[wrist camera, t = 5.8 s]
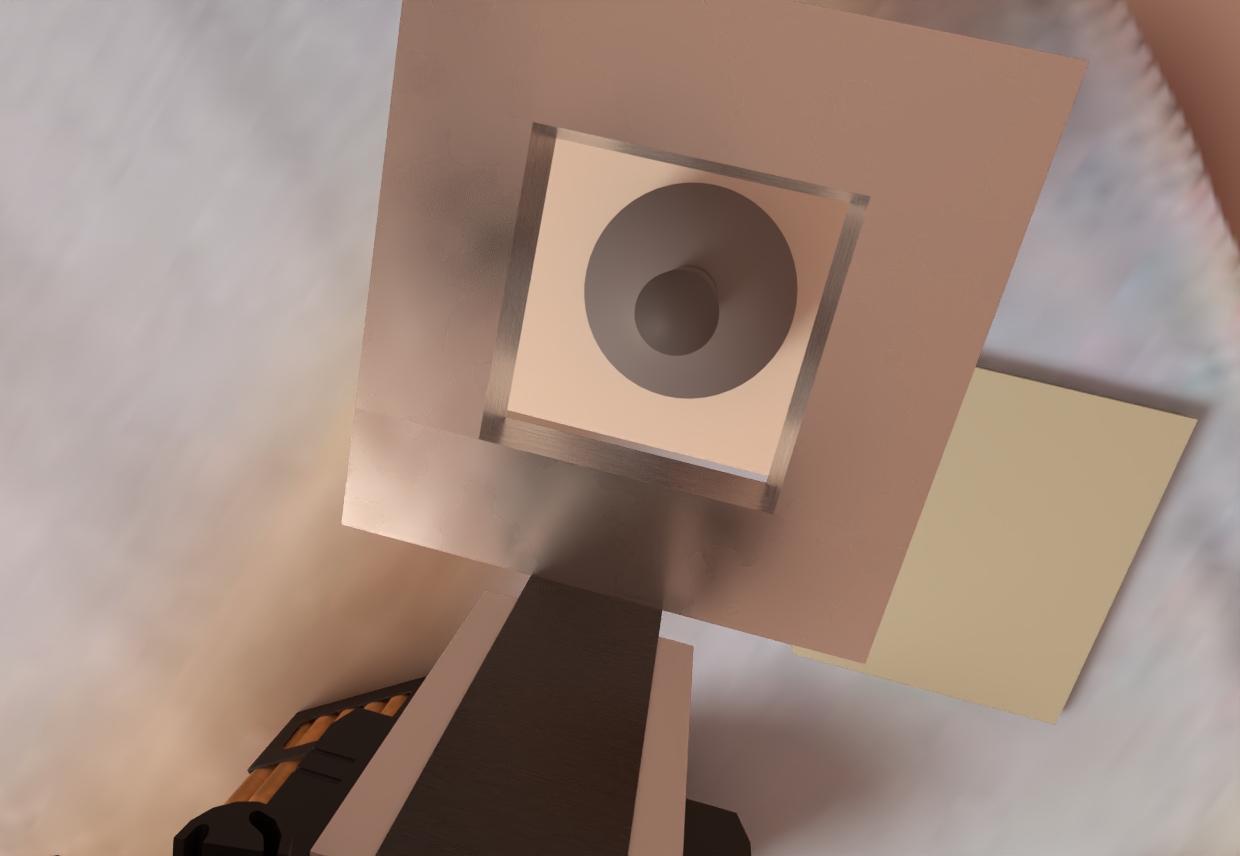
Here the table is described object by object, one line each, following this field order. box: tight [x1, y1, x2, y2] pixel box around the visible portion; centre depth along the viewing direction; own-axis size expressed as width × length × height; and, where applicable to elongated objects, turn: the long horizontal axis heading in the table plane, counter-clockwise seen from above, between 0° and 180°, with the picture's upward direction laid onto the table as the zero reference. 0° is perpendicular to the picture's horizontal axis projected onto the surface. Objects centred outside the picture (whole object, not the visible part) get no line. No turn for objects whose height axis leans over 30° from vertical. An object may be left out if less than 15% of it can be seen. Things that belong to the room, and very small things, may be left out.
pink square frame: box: [342, 0, 1089, 856], centre depth 11 cm, size 15×12×11 cm
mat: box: [792, 367, 1198, 725], centre depth 35 cm, size 17×14×1 cm
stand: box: [507, 138, 850, 475], centre depth 27 cm, size 16×16×15 cm
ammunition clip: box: [224, 676, 427, 805], centre depth 37 cm, size 11×2×12 cm, turn 111°
